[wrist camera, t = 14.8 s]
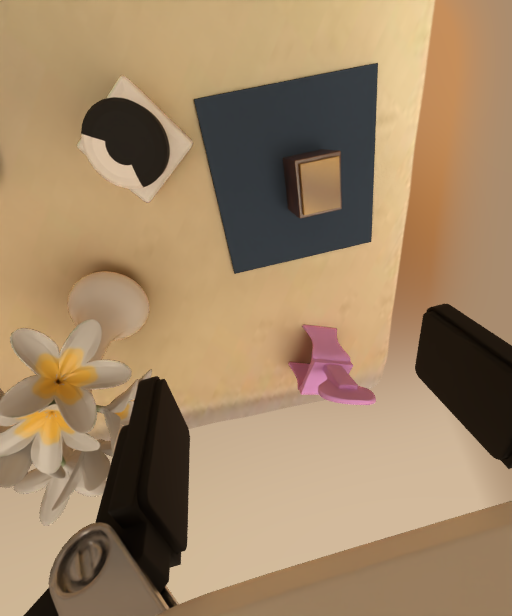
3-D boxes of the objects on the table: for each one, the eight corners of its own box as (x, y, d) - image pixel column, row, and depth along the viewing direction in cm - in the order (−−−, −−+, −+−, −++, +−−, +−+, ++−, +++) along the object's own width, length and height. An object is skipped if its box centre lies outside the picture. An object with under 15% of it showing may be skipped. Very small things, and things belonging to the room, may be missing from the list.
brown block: (282, 157, 34) (295, 160, 29) (323, 149, 34) (343, 150, 30) (288, 209, 37) (301, 219, 32) (325, 201, 37) (343, 210, 33)
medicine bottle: (136, 85, 29) (104, 57, 19) (194, 142, 32) (193, 144, 22) (98, 145, 31) (49, 148, 21) (156, 193, 34) (138, 216, 24)
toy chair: (281, 365, 51) (310, 441, 38) (296, 323, 47) (334, 392, 34) (324, 368, 53) (363, 441, 41) (342, 329, 49) (392, 395, 37)
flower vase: (84, 354, 43) (-25, 564, 22) (47, 231, 34) (-199, 385, 13) (174, 349, 46) (155, 534, 24) (163, 232, 36) (116, 365, 15)
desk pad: (193, 99, 30) (193, 99, 30) (375, 63, 32) (378, 62, 31) (234, 272, 41) (234, 273, 40) (369, 240, 42) (371, 241, 41)
